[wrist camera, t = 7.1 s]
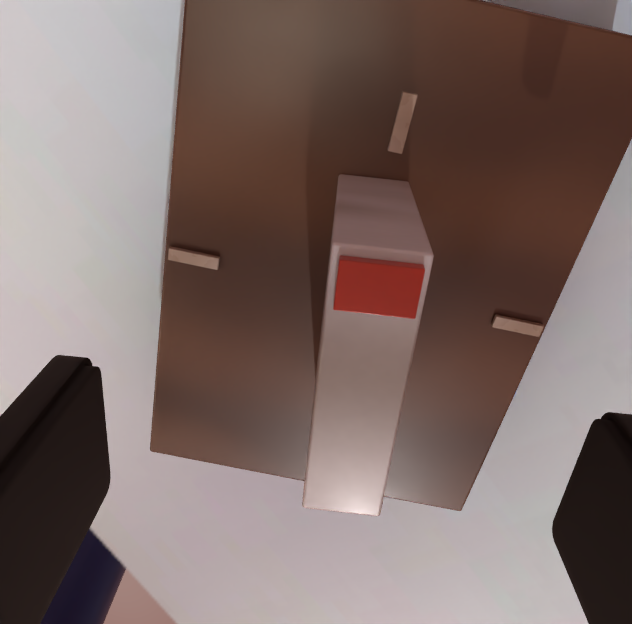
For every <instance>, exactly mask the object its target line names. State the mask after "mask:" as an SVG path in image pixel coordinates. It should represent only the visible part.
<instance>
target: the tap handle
mask: <svg viewBox="0 0 632 624" xmlns="http://www.w3.org/2000/svg"><path fill="white" fill-rule="evenodd" d="M433 257H434V255H433V252H432V249H431V246H430V243H429V240H428V237H427V234H426V231H425V228H424V226H423V223H422V220H421V217H420V214H419V211H418V208H417V205H416V202H415V199H414V196H413V193H412V190H411V188H410V185H409V182H407V181H399V180H390V179H380V178H371V177H362V176H353V175H344V174H340V175H339V177H338V185H337V194H336V203H335V212H334V221H333V229H332V238H331V247H330V256H329V265H328V273H327V282H326V291H325V300H324V309H323V317H322V326H321V335H320V344H319V353H318V361H317V370H316V379H315V388H314V398H313V407H312V417H311V426H310V436H309V445H308V455H307V464H306V474H305V483H304V493H303V502H302V505H303V507H304V508H310V509H319V510H328V511H337V512H345V513H354V514H363V515H372V516H379V515H380V512H381V507H382V502H383V498H384V493H385V488H386V483H387V478H388V474H389V469H390V464H391V459H392V454H393V450H394V445H395V440H396V435H397V430H398V426H399V421H400V416H401V411H402V406H403V402H404V397H405V392H406V387H407V382H408V378H409V373H410V368H411V363H412V358H413V354H414V349H415V344H416V339H417V334H418V330H419V325H420V320H421V315H422V310H423V306H424V301H425V296H426V291H427V286H428V282H429V277H430V272H431V267H432V262H433Z"/></svg>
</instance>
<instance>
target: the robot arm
mask: <svg viewBox="0 0 632 624" xmlns="http://www.w3.org/2000/svg"><path fill="white" fill-rule="evenodd" d="M109 484H110V464H109V453H108V442H107V431H106V421H105V410H104V399H103V388H102V377H101V371H100V368H99V367H95V366H92V363H91V361H90V359H88V358H83V357H73V356H64V355H56V356H55V357H54V358H52V360H51V361H50V362H49V363H48V364H47V365H46V366H45V367H44V368H43V370H42V371H41V372H40V373H39V374H38V375H37V376H36V377H35V378H34V380H33V381H32V382H31V383H30V384H29V385H28V386H27V387H26V389H25V390H24V391H23V392H22V393H21V394H20V395H19V396H18V397H17V399H16V400H15V401H14V402H13V403H12V404H11V405H10V406H9V407H8V409H7V410H6V411H5V412H4V413H3V414H2V415H1V416H0V624H40V623H41V621H42V619H43V617H44V615H45V613H46V611H47V609H48V607H49V605H50V603H51V601H52V600H53V598H54V596H55V594H56V592H57V590H58V588H59V586H60V584H61V582H62V580H63V578H64V576H65V574H66V572H67V570H68V568H69V566H70V565H71V563H72V561H73V559H74V557H75V555H76V553H77V551H78V549H79V547H80V545H81V543H82V541H83V539H84V537H85V535H86V533H87V531H88V530H89V528H90V526H91V524H92V522H93V520H94V518H95V516H96V514H97V512H98V510H99V508H100V506H101V504H102V502H103V500H104V498H105V496H106V494H107V492H108V489H109ZM552 533H553V538H554V542H555V544H556V546H557V549H558V551H559V554H560V556H561V558H562V561H563V563H564V566H565V568H566V570H567V573H568V575H569V577H570V580H571V582H572V585H573V587H574V589H575V592H576V594H577V597H578V599H579V601H580V604H581V606H582V609H583V611H584V613H585V616H586V618H587V620H588V623H589V624H632V415H631V414H621V413H611V412H609V413H605V414H604V415H603V416H602V418H601V419H596V420H594V421H593V423H592V425H591V427H590V429H589V432H588V434H587V437H586V439H585V442H584V444H583V447H582V450H581V452H580V455H579V457H578V460H577V462H576V465H575V467H574V470H573V472H572V475H571V477H570V480H569V482H568V485H567V487H566V490H565V493H564V495H563V498H562V500H561V503H560V505H559V508H558V510H557V513H556V515H555V518H554V521H553V526H552Z"/></svg>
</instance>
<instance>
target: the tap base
mask: <svg viewBox="0 0 632 624" xmlns="http://www.w3.org/2000/svg"><path fill="white" fill-rule="evenodd" d="M631 139H632V35H627V34H623V33H619V32H615V31H610V30H606V29H602V28H597V27H593V26H589V25H584V24H580V23H576V22H572V21H567V20H563V19H559V18H554V17H550V16H546V15H541V14H537V13H533V12H528V11H524V10H520V9H516V8H511V7H507V6H503V5H498V4H494V3H490V2H485V1H481V0H185V6H184V19H183V32H182V45H181V58H180V70H179V83H178V96H177V109H176V122H175V135H174V147H173V160H172V173H171V186H170V199H169V212H168V224H167V237H166V250H165V263H164V276H163V289H162V301H161V314H160V327H159V340H158V353H157V366H156V378H155V391H154V404H153V417H152V430H151V443H150V451H152V452H158V453H163V454H168V455H173V456H178V457H183V458H188V459H194V460H199V461H204V462H209V463H214V464H219V465H225V466H230V467H235V468H240V469H245V470H250V471H256V472H261V473H266V474H271V475H276V476H281V477H287V478H292V479H297V480H302V481H305V474H306V464H307V455H308V445H309V436H310V426H311V417H312V407H313V398H314V388H315V379H316V370H317V361H318V353H319V344H320V335H321V326H322V317H323V309H324V300H325V291H326V282H327V273H328V265H329V256H330V247H331V238H332V229H333V221H334V212H335V203H336V194H337V185H338V177H339V175H340V174H344V175H353V176H362V177H371V178H380V179H390V180H399V181H407V182H409V185H410V188H411V190H412V193H413V196H414V199H415V202H416V205H417V208H418V211H419V214H420V217H421V220H422V223H423V226H424V228H425V231H426V234H427V237H428V240H429V243H430V246H431V249H432V252H433V255H434V257H433V262H432V267H431V272H430V277H429V282H428V286H427V291H426V296H425V301H424V306H423V310H422V315H421V320H420V325H419V330H418V334H417V339H416V344H415V349H414V354H413V358H412V363H411V368H410V373H409V378H408V382H407V387H406V392H405V397H404V402H403V406H402V411H401V416H400V421H399V426H398V430H397V435H396V440H395V445H394V450H393V454H392V459H391V464H390V469H389V474H388V478H387V483H386V488H385V493H384V496H385V497H390V498H395V499H400V500H405V501H410V502H416V503H421V504H426V505H431V506H436V507H441V508H447V509H452V510H457V511H461V510H462V508H463V506H464V504H465V501H466V499H467V497H468V495H469V493H470V490H471V488H472V486H473V484H474V482H475V479H476V477H477V475H478V473H479V471H480V469H481V466H482V464H483V462H484V460H485V458H486V455H487V453H488V451H489V449H490V447H491V445H492V442H493V440H494V438H495V436H496V434H497V431H498V429H499V427H500V425H501V423H502V421H503V418H504V416H505V414H506V412H507V410H508V407H509V405H510V403H511V401H512V399H513V396H514V394H515V392H516V390H517V388H518V386H519V383H520V381H521V379H522V377H523V375H524V372H525V370H526V368H527V366H528V364H529V362H530V359H531V357H532V355H533V353H534V351H535V348H536V346H537V344H538V342H539V340H540V337H541V335H542V333H543V331H544V329H545V327H546V324H547V322H548V320H549V318H550V316H551V313H552V311H553V309H554V307H555V305H556V303H557V300H558V298H559V296H560V294H561V292H562V289H563V287H564V285H565V283H566V281H567V279H568V276H569V274H570V272H571V270H572V268H573V265H574V263H575V261H576V259H577V257H578V254H579V252H580V250H581V248H582V246H583V244H584V241H585V239H586V237H587V235H588V233H589V230H590V228H591V226H592V224H593V222H594V220H595V217H596V215H597V213H598V211H599V209H600V206H601V204H602V202H603V200H604V198H605V196H606V193H607V191H608V189H609V187H610V185H611V182H612V180H613V178H614V176H615V174H616V171H617V169H618V167H619V165H620V163H621V161H622V158H623V156H624V154H625V152H626V150H627V147H628V145H629V143H630V141H631Z"/></svg>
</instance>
